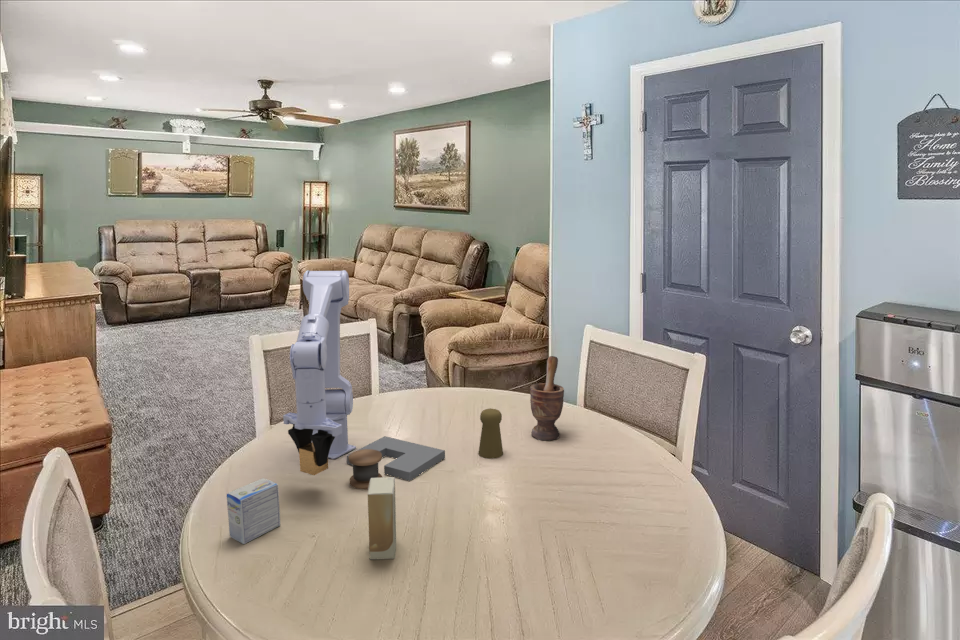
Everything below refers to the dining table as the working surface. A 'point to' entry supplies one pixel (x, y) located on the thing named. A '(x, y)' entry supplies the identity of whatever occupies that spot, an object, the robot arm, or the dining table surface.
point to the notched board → (405, 457)
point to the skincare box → (382, 518)
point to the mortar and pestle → (547, 404)
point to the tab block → (310, 460)
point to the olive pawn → (490, 434)
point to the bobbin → (364, 467)
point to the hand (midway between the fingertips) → (314, 462)
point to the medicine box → (253, 510)
